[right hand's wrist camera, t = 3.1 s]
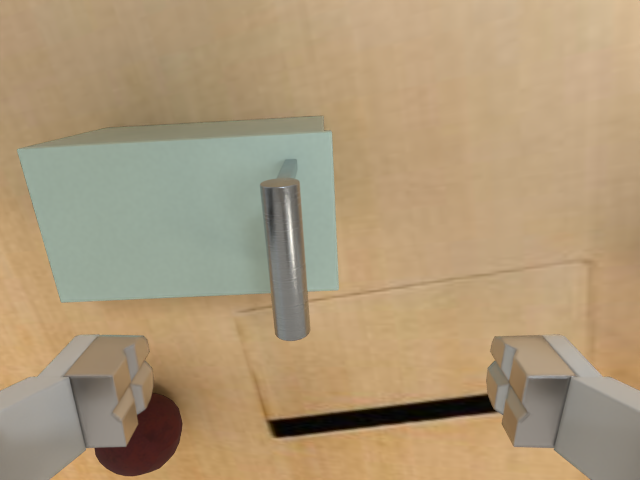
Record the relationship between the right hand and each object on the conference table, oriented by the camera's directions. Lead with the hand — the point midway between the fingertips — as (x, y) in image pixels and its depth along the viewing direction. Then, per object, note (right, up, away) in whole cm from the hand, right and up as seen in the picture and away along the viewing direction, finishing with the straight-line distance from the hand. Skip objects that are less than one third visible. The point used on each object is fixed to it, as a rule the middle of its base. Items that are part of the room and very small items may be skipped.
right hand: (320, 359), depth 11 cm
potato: (-17, -14, +35) cm, 41 cm away
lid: (-8, +4, +17) cm, 19 cm away
